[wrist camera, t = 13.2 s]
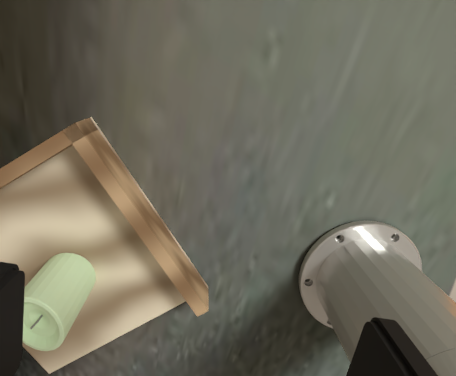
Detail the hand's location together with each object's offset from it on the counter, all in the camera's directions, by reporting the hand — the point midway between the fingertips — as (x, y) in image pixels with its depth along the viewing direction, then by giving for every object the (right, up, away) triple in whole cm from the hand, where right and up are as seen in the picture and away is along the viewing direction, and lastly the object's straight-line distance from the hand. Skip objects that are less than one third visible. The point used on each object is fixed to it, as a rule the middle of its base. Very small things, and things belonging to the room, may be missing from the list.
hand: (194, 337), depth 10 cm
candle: (-15, -4, +25) cm, 30 cm away
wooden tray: (-15, -3, +25) cm, 29 cm away
